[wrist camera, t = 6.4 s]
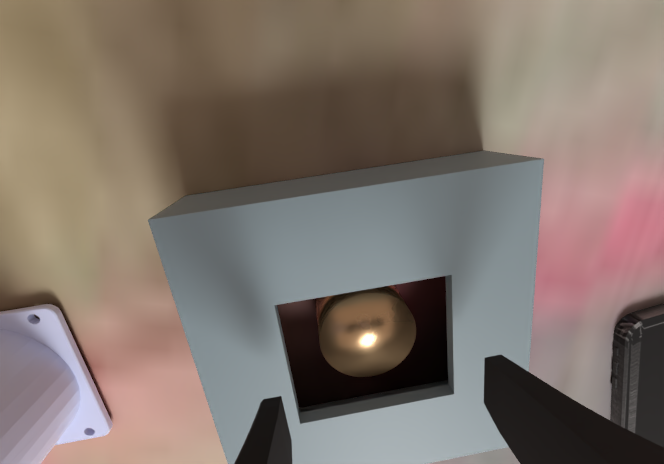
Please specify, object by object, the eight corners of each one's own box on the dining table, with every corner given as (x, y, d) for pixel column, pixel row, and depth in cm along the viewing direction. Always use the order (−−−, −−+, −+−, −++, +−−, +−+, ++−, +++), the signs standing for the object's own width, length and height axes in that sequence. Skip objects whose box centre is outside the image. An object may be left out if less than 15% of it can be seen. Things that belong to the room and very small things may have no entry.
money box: (251, 428, 19) (240, 501, 16) (185, 195, 15) (148, 219, 11) (480, 383, 20) (523, 443, 16) (483, 150, 16) (543, 158, 12)
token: (322, 343, 18) (326, 384, 15) (309, 272, 17) (312, 302, 14) (399, 330, 18) (418, 367, 16) (393, 258, 17) (413, 285, 14)
